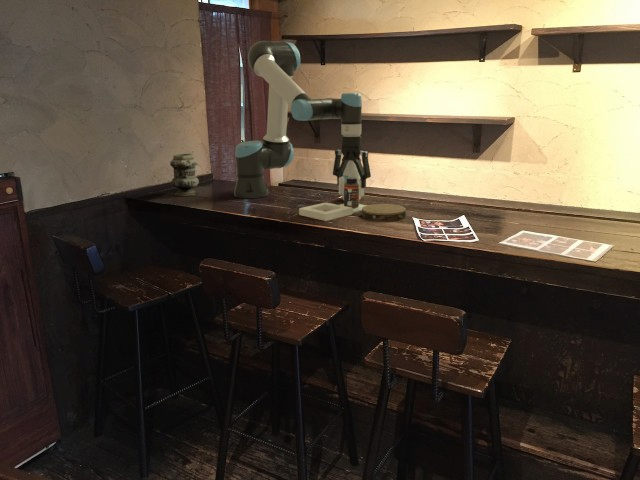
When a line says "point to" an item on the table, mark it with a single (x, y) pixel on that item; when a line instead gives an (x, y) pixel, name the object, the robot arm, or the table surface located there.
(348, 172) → the milk bottle
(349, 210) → the collar
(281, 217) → the table surface
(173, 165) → the apothecary jar
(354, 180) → the supplement bottle
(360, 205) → the tile
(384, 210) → the tambourine
